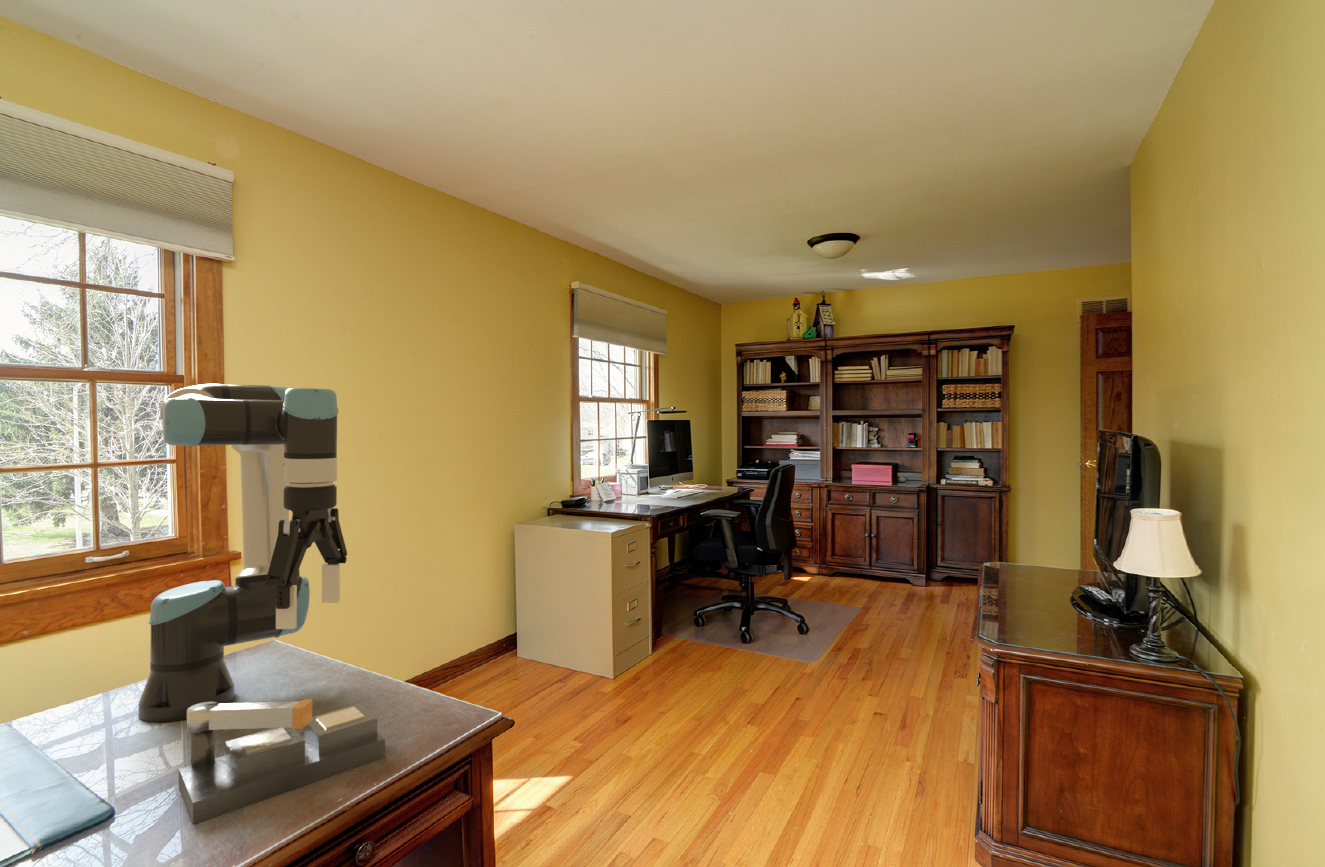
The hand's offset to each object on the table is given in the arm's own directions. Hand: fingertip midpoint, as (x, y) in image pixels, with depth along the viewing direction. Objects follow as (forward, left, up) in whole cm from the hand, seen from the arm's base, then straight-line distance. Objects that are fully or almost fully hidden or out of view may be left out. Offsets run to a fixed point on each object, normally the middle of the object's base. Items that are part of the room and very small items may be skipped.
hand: (309, 614), depth 104 cm
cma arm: (-1, -8, -16) cm, 18 cm away
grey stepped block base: (0, -3, -24) cm, 25 cm away
